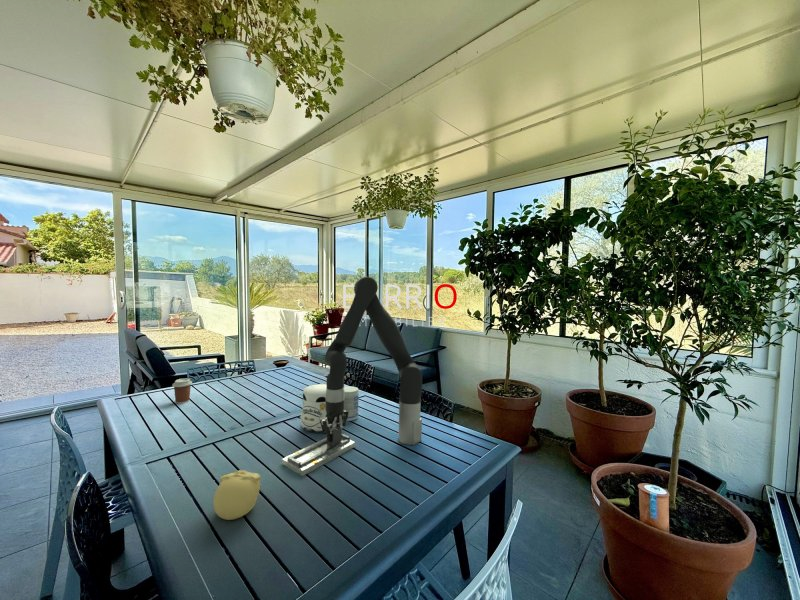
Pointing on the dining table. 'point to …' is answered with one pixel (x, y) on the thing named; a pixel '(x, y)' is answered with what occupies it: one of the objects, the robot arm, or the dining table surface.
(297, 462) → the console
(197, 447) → the dining table surface
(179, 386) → the coffee cup
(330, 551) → the dining table surface
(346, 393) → the supplement tub
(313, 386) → the milk container
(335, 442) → the fader knob
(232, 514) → the yellow rounded piece
